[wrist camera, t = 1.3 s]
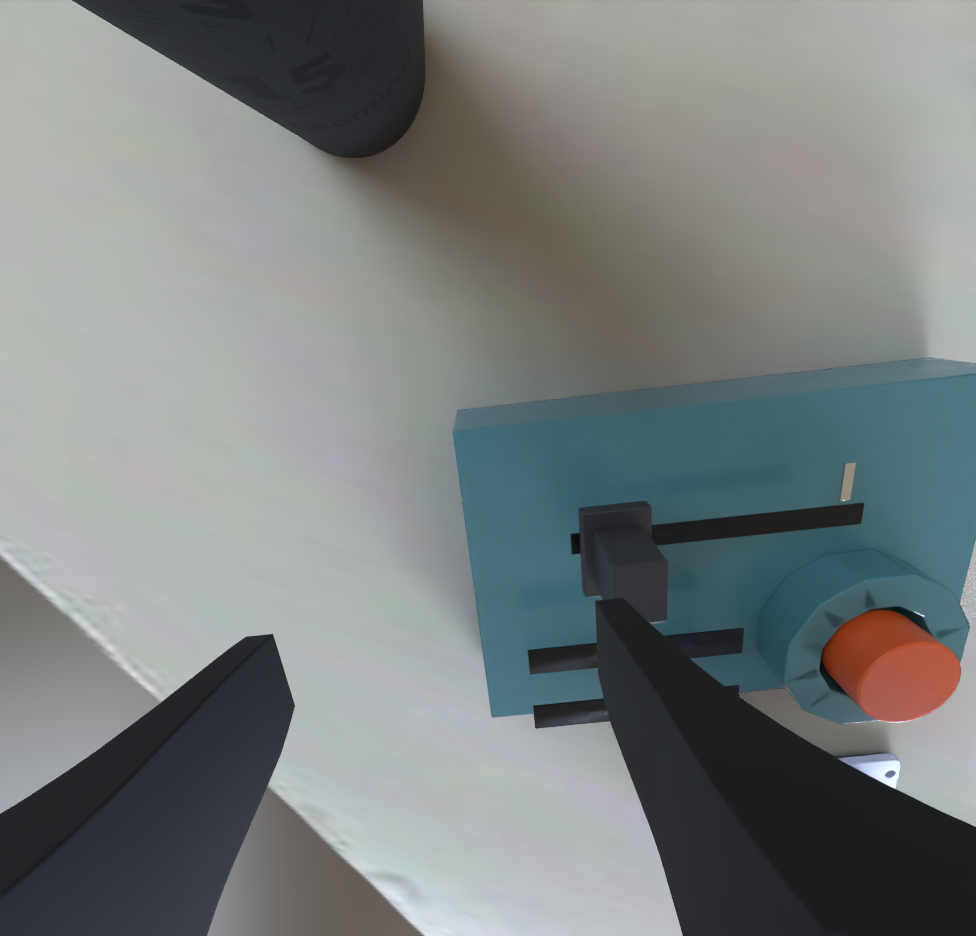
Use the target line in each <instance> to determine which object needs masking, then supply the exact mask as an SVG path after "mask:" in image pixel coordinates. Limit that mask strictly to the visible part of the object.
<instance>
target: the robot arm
mask: <svg viewBox="0 0 976 936" xmlns="http://www.w3.org/2000/svg"><path fill="white" fill-rule="evenodd" d="M595 610H596V635H597V661H598V677H599V681H600V685H601V689H602V693H603V697H604V701H605V704H606V708H607V712H608V716H609V719H610V722H611V725H612V728H613V731H614V733H615V736H616V739H617V741H618V744H619V747H620V749H621V752H622V755H623V757H624V760H625V762H626V765H627V768H628V770H629V773H630V776H631V778H632V781H633V783H634V786H635V789H636V791H637V794H638V797H639V799H640V802H641V805H642V807H643V810H644V812H645V815H646V818H647V820H648V823H649V826H650V828H651V831H652V834H653V837H654V840H655V843H656V846H657V849H658V851H659V854H660V857H661V861H662V864H663V868H664V871H665V875H666V878H667V882H668V885H669V888H670V892H671V895H672V899H673V902H674V906H675V909H676V913H677V916H678V920H679V923H680V927H681V930H682V934H683V936H976V827H975V826H972V825H970V824H968V823H966V822H963V821H961V820H959V819H957V818H954V817H952V816H950V815H947V814H945V813H943V812H941V811H939V810H937V809H935V808H933V807H930V806H928V805H926V804H924V803H922V802H920V801H918V800H916V799H914V798H912V797H910V796H908V795H906V794H904V793H902V792H900V791H898V790H896V785H897V781H898V776H899V772H900V768H901V762H900V760H899V759H898V758H897V757H896V756H895V755H894V754H891V753H884V754H874V755H864V756H854V757H844V758H836V757H834V756H832V755H831V754H829V753H827V752H825V751H824V750H822V749H820V748H818V747H817V746H815V745H813V744H812V743H810V742H808V741H806V740H805V739H803V738H801V737H800V736H798V735H796V734H795V733H793V732H792V731H790V730H788V729H787V728H785V727H783V726H782V725H780V724H779V723H777V722H776V721H774V720H773V719H771V718H770V717H768V716H767V715H765V714H764V713H762V712H761V711H759V710H758V709H756V708H755V707H753V706H752V705H750V704H749V703H747V702H746V701H744V700H743V699H741V698H740V697H739V696H737V695H736V694H734V693H733V692H732V691H730V690H729V689H728V688H726V687H725V686H724V685H722V684H721V683H720V682H718V681H717V680H716V679H715V678H713V677H712V676H711V675H709V674H708V673H707V672H706V671H704V670H703V669H702V668H701V667H700V666H698V665H697V664H696V663H695V662H693V661H692V660H691V659H690V658H689V657H688V656H686V655H685V654H684V653H683V652H682V651H681V650H679V649H678V648H677V647H676V646H675V645H674V644H672V643H671V642H670V641H669V640H668V639H667V638H666V637H665V636H663V635H662V634H661V633H660V632H659V631H658V630H657V629H656V628H655V627H654V626H653V625H651V624H650V623H649V622H648V621H647V620H646V619H645V618H644V617H643V616H642V615H641V614H640V613H639V612H638V611H637V610H636V609H635V608H634V607H632V606H631V605H630V604H629V603H628V602H627V601H626V600H625V599H624V598H617V599H607V600H597V601H595ZM294 707H295V705H294V701H293V698H292V695H291V691H290V688H289V685H288V682H287V678H286V675H285V672H284V669H283V665H282V662H281V659H280V656H279V652H278V649H277V646H276V643H275V639H274V636H273V634H269V635H260V636H250V637H245V638H244V639H242V640H241V641H239V642H238V643H237V644H235V645H234V646H232V647H231V648H230V649H228V650H227V651H226V652H224V653H223V654H222V655H221V656H219V657H218V658H217V659H215V660H214V661H213V662H212V663H210V664H209V665H208V666H207V667H205V668H204V669H203V670H202V671H200V672H199V673H198V674H197V675H195V676H194V677H193V678H192V679H190V680H189V681H188V682H187V683H185V684H184V685H183V686H181V687H180V688H179V689H178V690H176V691H175V692H174V693H173V694H171V695H170V696H169V697H168V698H166V699H165V700H164V701H162V702H161V703H160V704H159V705H158V706H156V707H155V708H154V709H152V710H151V711H150V712H148V713H147V714H146V715H144V716H143V717H141V718H140V719H139V720H138V721H136V722H135V723H134V724H132V725H131V726H129V727H128V728H127V729H125V730H124V731H123V732H121V733H120V734H119V735H117V736H116V737H115V738H113V739H112V740H111V741H109V742H108V743H107V744H105V745H104V746H103V747H101V748H100V749H98V750H97V751H96V752H94V753H93V754H91V755H90V756H89V757H87V758H86V759H84V760H83V761H81V762H80V763H78V764H77V765H76V766H74V767H73V768H71V769H70V770H68V771H67V772H65V773H64V774H62V775H61V776H59V777H58V778H56V779H55V780H53V781H52V782H50V783H49V784H47V785H46V786H44V787H42V788H41V789H39V790H38V791H36V792H35V793H33V794H32V795H30V796H29V797H27V798H25V799H24V800H22V801H21V802H19V803H18V804H16V805H15V806H13V807H11V808H9V809H8V810H6V811H4V812H3V813H1V814H0V936H207V934H208V931H209V927H210V925H211V922H212V919H213V916H214V913H215V910H216V907H217V904H218V901H219V899H220V896H221V893H222V891H223V888H224V886H225V883H226V881H227V878H228V876H229V873H230V871H231V868H232V866H233V864H234V861H235V859H236V857H237V855H238V852H239V850H240V848H241V845H242V843H243V841H244V838H245V836H246V834H247V832H248V829H249V827H250V825H251V822H252V820H253V818H254V816H255V813H256V811H257V808H258V806H259V804H260V802H261V799H262V797H263V795H264V792H265V790H266V788H267V786H268V783H269V781H270V778H271V776H272V774H273V771H274V769H275V767H276V764H277V762H278V759H279V757H280V755H281V752H282V749H283V745H284V742H285V739H286V736H287V732H288V729H289V725H290V722H291V718H292V714H293V711H294Z"/></svg>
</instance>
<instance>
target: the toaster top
mask: <svg viewBox="0 0 976 936" xmlns="http://www.w3.org/2000/svg"><path fill="white" fill-rule="evenodd" d="M855 465H856V463H855V462H851V463H844V469H843V476H842V483H841V490H840V497H839V501H847V500H850V498H851V491H852V485H853V478H854V472H855ZM863 509H864V503H854V504H844V505H835V506H826V507H816V508H807V509H798V510H788V511H779V512H770V513H760V514H751V515H741V516H732V517H723V518H713V519H704V520H695V521H685V522H676V523H667V524H657V525H652V535H651V539H652V541H653V542H654V543H655V545H656V546H658V545H668V544H677V543H687V542H696V541H706V540H715V539H724V538H734V537H743V536H753V535H762V534H771V533H781V532H790V531H800V530H809V529H819V528H828V527H837V526H847V525H856V524H861V522H862V515H863ZM570 537H571V554H572V555H574V554H580V534H579V533H573V534H570ZM743 635H744V628H735V629H725V630H715V631H706V632H696V633H686V634H677V635H667V636H665V637H666V638H667V639H668V640H669V641H670V642H671V643H672V644H674V645H675V646H676V647H677V648H678V649H679V650H681V651H682V652H683V653H684V654H685V655H686V656H688V657H689V658H700V657H709V656H719V655H729V654H739V653H742V648H743ZM528 660H529V670H530V675H533V674H543V673H553V672H563V671H572V670H582V669H592V668H598V661H597V643H589V644H580V645H570V646H560V647H551V648H541V649H531V650H528ZM725 687H726V688H728V689H729V690H730V691H732V692H733V693H734V694H736V695H737V696H739V685H731V686H725ZM533 710H534V720H535V728H545V727H555V726H565V725H575V724H585V723H595V722H605V721H610V719H609V716H608V712H607V708H606V704H605V701H604V698H603V699H593V700H583V701H573V702H564V703H554V704H544V705H534V706H533Z"/></svg>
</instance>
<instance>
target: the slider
mask: <svg viewBox="0 0 976 936" xmlns="http://www.w3.org/2000/svg"><path fill="white" fill-rule="evenodd" d="M578 514H579V534H580V554H581V573H582V589H583V592H584V595H585V597H586V598H589V597H599V596H601V597H602V599H603V600H607V599H617V598H624V599H625V600H626V601H627V602H628V603H629V604H630V605H631V606H632V607H634V608H635V609H636V610H637V611H638V612H639V613H640V614H641V615H642V616H643V617H644V618H645V619H646V620H647V621H648V622H649V623H650V624H651V623H661V622H666V621H667V600H668V562H667V560H666V559H665V557H664V556H663V554H662V553H661V552H660V550H659V549H658V548H657V546H656V545H655V543H654V542H653V541H652V539H651V535H652V507H651V506H650V505H649V503H648V502H647V501H636V502H627V503H618V504H608V505H599V506H590V507H580V508H579V509H578Z"/></svg>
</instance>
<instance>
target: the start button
mask: <svg viewBox="0 0 976 936" xmlns="http://www.w3.org/2000/svg"><path fill="white" fill-rule="evenodd" d="M823 663H824V667H825V669H826V671H827V672H828V674H829V675H830V676H831V677H832V678H833V679H834V680H835V681H836V683H837V684H838V685H839V686H840V687H841V688H842V689H843V690H844V691H845V692H846V693H847V694H848V695H849V696H850V697H851V698H852V700H853V701H854V702H855V703H856V704H857V705H858V706H859V707H860V708H861V709H862V710H863V711H864V712H865V713H866V714H867V715H869V716H870V717H872V718H874V719H877V720H880V721H883V722H890V723H899V722H907V721H911V720H915V719H918V718H921V717H923V716H925V715H927V714H929V713H931V712H933V711H934V710H936V709H937V708H939V707H940V706H941V705H942V704H944V703H945V702H946V701H947V700H948V699H949V697H950V696H951V695H952V694H953V692H954V691H955V689H956V687H957V685H958V683H959V680H960V675H961V668H960V663H959V660H958V658H957V657H956V655H955V654H954V653H953V652H952V650H950V649H949V648H948V647H946V646H945V645H944V644H942V643H941V642H939V641H938V640H937V639H935V638H934V637H933V636H931V635H930V634H929V633H927V632H926V631H925V630H923V629H922V628H921V627H919V626H918V625H916V624H915V623H914V622H912V621H911V620H910V619H908V618H907V617H906V616H904V615H902V614H900V613H898V612H895V611H890V610H871V611H867V612H865V613H863V614H861V615H859V616H857V617H856V618H854V619H852V620H850V621H848V622H846V623H844V624H843V625H841V626H840V627H839V628H838V630H837V631H836V632H835V633H834V635H833V636H832V637H831V638H830V640H829V641H828V642H827V643H826V645H825V646H824V650H823Z"/></svg>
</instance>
